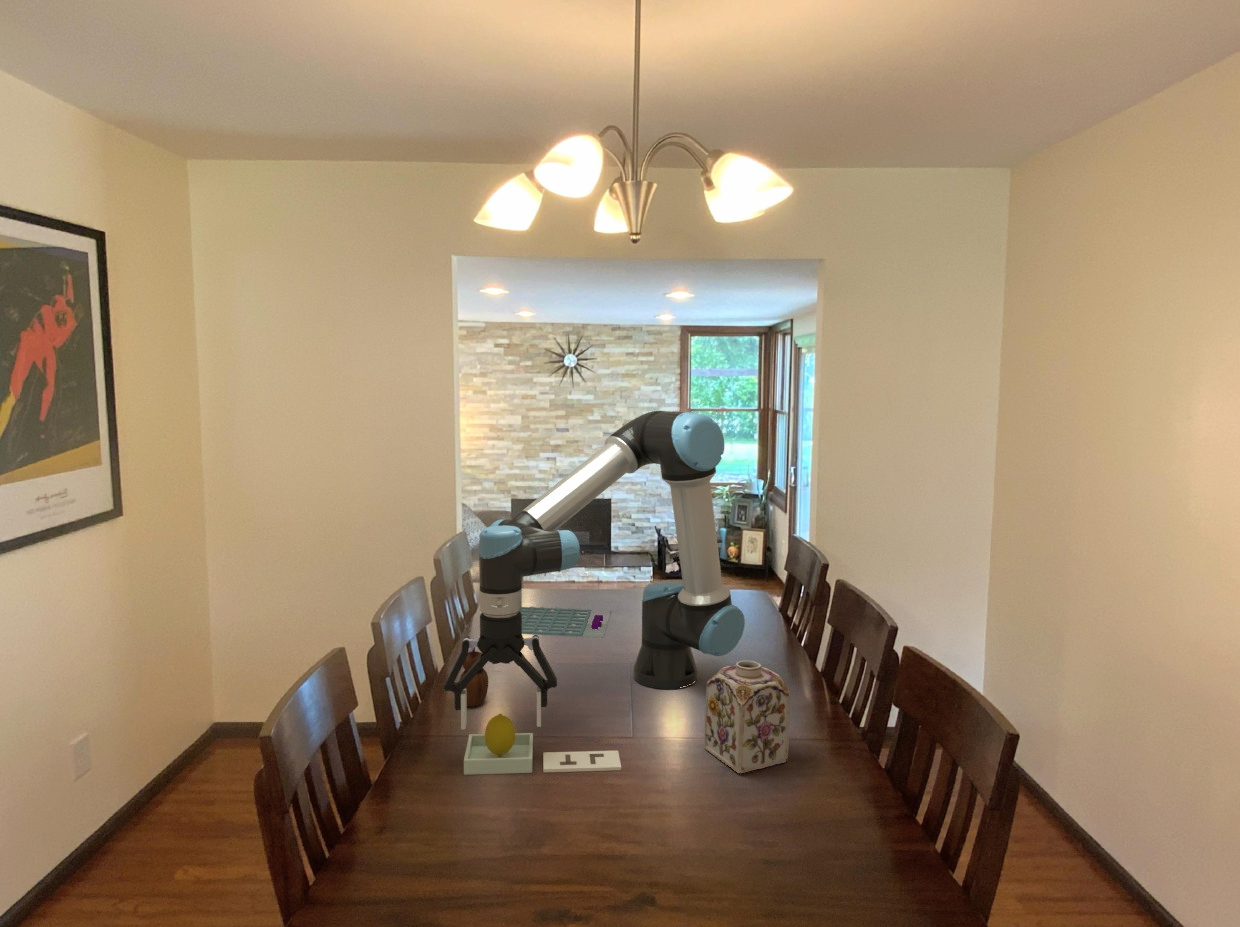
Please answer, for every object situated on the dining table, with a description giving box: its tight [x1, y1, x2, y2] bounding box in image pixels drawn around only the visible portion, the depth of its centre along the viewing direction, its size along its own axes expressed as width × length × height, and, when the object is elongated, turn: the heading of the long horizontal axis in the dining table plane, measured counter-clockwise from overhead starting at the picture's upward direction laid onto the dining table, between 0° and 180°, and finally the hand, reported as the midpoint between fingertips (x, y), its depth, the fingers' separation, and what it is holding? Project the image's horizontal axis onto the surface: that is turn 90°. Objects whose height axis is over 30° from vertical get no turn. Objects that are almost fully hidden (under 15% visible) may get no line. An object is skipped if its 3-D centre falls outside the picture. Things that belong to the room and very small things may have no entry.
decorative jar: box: [703, 660, 791, 774], centre depth 145 cm, size 12×12×18 cm
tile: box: [542, 750, 622, 773], centre depth 142 cm, size 14×6×1 cm, turn 96°
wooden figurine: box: [459, 638, 489, 708], centre depth 167 cm, size 7×6×15 cm
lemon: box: [484, 713, 516, 756], centre depth 142 cm, size 6×6×8 cm
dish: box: [463, 732, 534, 776], centre depth 142 cm, size 12×10×3 cm
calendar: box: [520, 606, 609, 638], centre depth 228 cm, size 27×29×2 cm
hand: (501, 724), depth 142 cm, fingers open, 13 cm apart
